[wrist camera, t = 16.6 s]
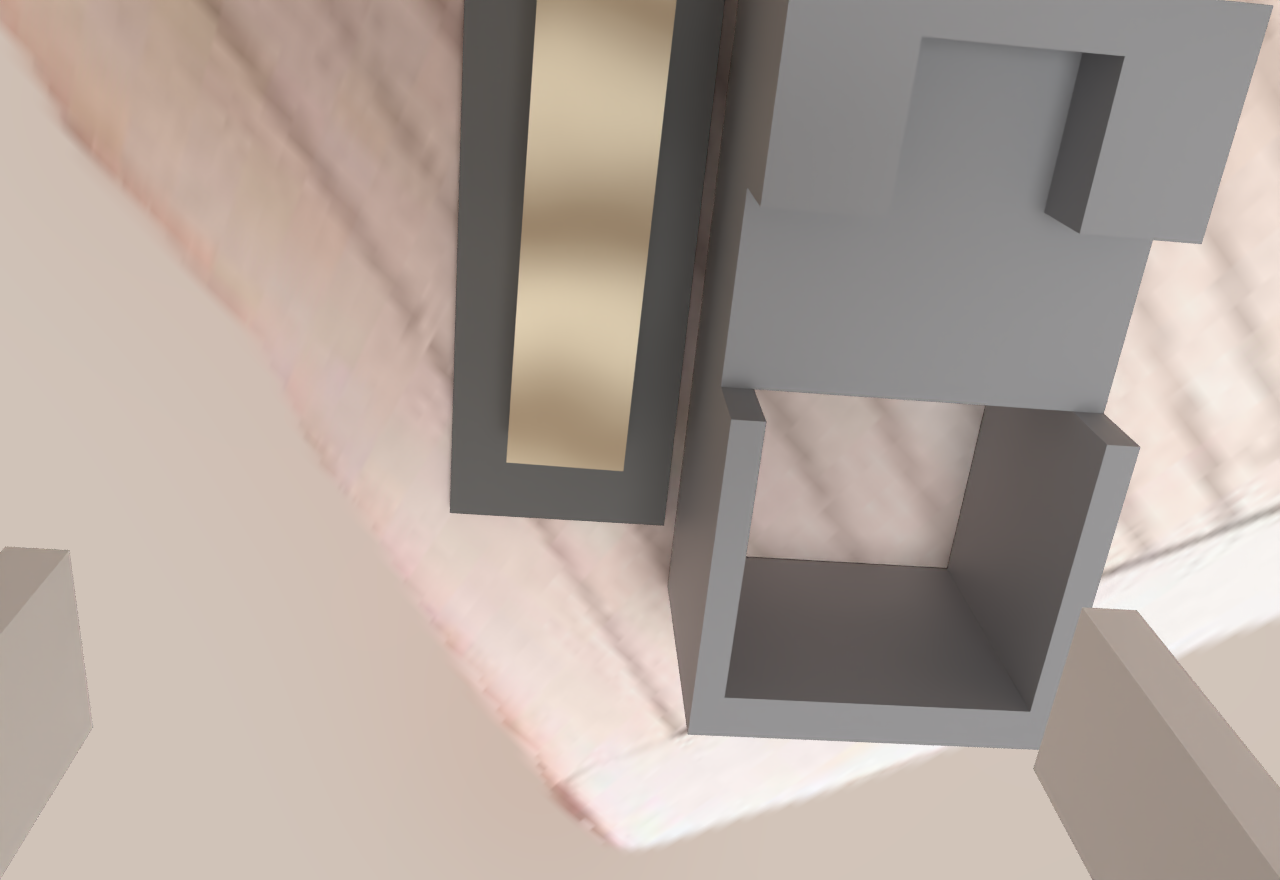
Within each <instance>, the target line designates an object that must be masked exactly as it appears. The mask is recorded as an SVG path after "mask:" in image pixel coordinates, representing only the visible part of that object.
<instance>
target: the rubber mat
mask: <svg viewBox="0 0 1280 880" xmlns="http://www.w3.org/2000/svg"><path fill="white" fill-rule="evenodd" d="M724 3H725V0H677V1H676V9H675V18H674V27H673V36H672V45H671V54H670V62H669V71H668V80H667V89H666V98H665V107H664V115H663V124H662V133H661V142H660V151H659V160H658V168H657V177H656V186H655V195H654V204H653V213H652V221H651V230H650V239H649V248H648V257H647V266H646V275H645V283H644V292H643V301H642V310H641V319H640V328H639V336H638V345H637V354H636V363H635V372H634V381H633V389H632V398H631V407H630V416H629V425H628V434H627V442H626V451H625V460H624V469H623V471H612V470H599V469H586V468H573V467H560V466H547V465H533V464H520V463H507V462H506V461H507V445H508V430H509V415H510V400H511V385H512V370H513V355H514V340H515V325H516V309H517V294H518V279H519V264H520V249H521V234H522V219H523V204H524V189H525V174H526V158H527V143H528V128H529V113H530V98H531V83H532V68H533V53H534V38H535V22H536V7H537V0H465V2H464V37H463V72H462V108H461V143H460V178H459V213H458V248H457V284H456V319H455V354H454V389H453V424H452V460H451V495H450V513H460V514H477V515H494V516H511V517H528V518H545V519H562V520H579V521H596V522H612V523H629V524H646V525H663V526H664V520H665V511H666V503H667V494H668V485H669V477H670V468H671V460H672V451H673V442H674V434H675V425H676V417H677V408H678V399H679V391H680V382H681V373H682V365H683V356H684V348H685V339H686V330H687V322H688V313H689V305H690V296H691V287H692V279H693V270H694V261H695V253H696V244H697V236H698V227H699V218H700V210H701V201H702V193H703V184H704V175H705V167H706V158H707V150H708V141H709V132H710V124H711V115H712V106H713V98H714V89H715V81H716V72H717V63H718V55H719V46H720V38H721V29H722V20H723V12H724Z"/></svg>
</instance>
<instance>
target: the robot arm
mask: <svg viewBox="0 0 1280 880" xmlns="http://www.w3.org/2000/svg"><path fill="white" fill-rule="evenodd" d="M92 728H93V724H92V717H91V709H90V702H89V694H88V688H87V680H86V672H85V664H84V656H83V649H82V641H81V634H80V626H79V619H78V611H77V604H76V596H75V589H74V582H73V574H72V566H71V559H70V551H69V550H56V549H38V548H20V547H5V548H4V549H3V550H2V551H1V552H0V879H1V877H2V876H3V874H4V872H5V870H6V869H7V867H8V866H9V864H10V862H11V861H12V859H13V857H14V856H15V854H16V853H17V851H18V849H19V848H20V846H21V844H22V843H23V841H24V839H25V838H26V836H27V835H28V833H29V831H30V829H31V828H32V826H33V825H34V823H35V821H36V820H37V818H38V816H39V815H40V813H41V812H42V810H43V808H44V807H45V805H46V803H47V802H48V800H49V798H50V797H51V795H52V794H53V792H54V790H55V789H56V787H57V785H58V784H59V782H60V780H61V779H62V777H63V776H64V774H65V772H66V771H67V769H68V767H69V766H70V764H71V762H72V760H73V759H74V757H75V756H76V754H77V753H78V751H79V749H80V748H81V746H82V744H83V743H84V741H85V739H86V738H87V736H88V735H89V733H90V731H91V730H92ZM1033 769H1034V771H1035V773H1036V775H1037V777H1038V779H1039V780H1040V782H1041V784H1042V786H1043V788H1044V790H1045V792H1046V793H1047V795H1048V797H1049V799H1050V801H1051V803H1052V805H1053V807H1054V809H1055V811H1056V812H1057V814H1058V816H1059V818H1060V820H1061V822H1062V824H1063V826H1064V827H1065V829H1066V831H1067V833H1068V835H1069V837H1070V839H1071V840H1072V842H1073V844H1074V846H1075V848H1076V850H1077V851H1078V854H1079V855H1080V857H1081V859H1082V861H1083V863H1084V865H1085V867H1086V869H1087V871H1088V872H1089V874H1090V876H1091V878H1092V880H1280V787H1279V786H1278V785H1277V784H1276V782H1275V781H1274V780H1273V779H1272V777H1271V776H1270V775H1269V774H1268V773H1267V771H1266V770H1265V769H1264V767H1263V766H1262V765H1261V764H1260V763H1259V761H1258V760H1257V759H1256V758H1255V756H1254V755H1253V754H1252V753H1251V751H1250V750H1249V749H1248V748H1247V746H1246V745H1245V744H1244V743H1243V741H1242V740H1241V739H1240V738H1239V737H1238V735H1237V734H1236V733H1235V731H1234V730H1233V729H1232V728H1231V727H1230V725H1229V724H1228V723H1227V722H1226V720H1225V719H1224V718H1223V717H1222V715H1221V714H1220V713H1219V712H1218V710H1217V709H1216V708H1215V707H1214V705H1213V704H1212V703H1211V702H1210V701H1209V699H1208V698H1207V697H1206V696H1205V694H1204V693H1203V692H1202V691H1201V689H1200V688H1199V687H1198V686H1197V684H1196V683H1195V682H1194V681H1193V680H1192V678H1191V677H1190V676H1189V675H1188V673H1187V672H1186V671H1185V670H1184V668H1183V667H1182V666H1181V665H1180V663H1179V662H1178V661H1177V660H1176V658H1175V657H1174V656H1173V655H1172V653H1171V652H1170V651H1169V650H1168V648H1167V647H1166V646H1165V645H1164V643H1163V642H1162V641H1161V640H1160V638H1159V637H1158V636H1157V635H1156V633H1155V632H1154V631H1153V630H1152V629H1151V627H1150V626H1149V625H1148V624H1147V622H1146V621H1145V620H1144V619H1143V617H1142V616H1141V615H1140V614H1139V612H1138V611H1137V610H1120V609H1102V608H1085V607H1082V610H1081V613H1080V616H1079V620H1078V623H1077V626H1076V629H1075V633H1074V636H1073V639H1072V643H1071V646H1070V649H1069V653H1068V656H1067V659H1066V663H1065V666H1064V669H1063V672H1062V676H1061V679H1060V682H1059V686H1058V689H1057V692H1056V696H1055V699H1054V702H1053V705H1052V709H1051V712H1050V715H1049V719H1048V722H1047V725H1046V729H1045V732H1044V735H1043V739H1042V742H1041V745H1040V748H1039V752H1038V755H1037V759H1036V762H1035V765H1034V768H1033Z"/></svg>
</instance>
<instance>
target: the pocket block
mask: <svg viewBox="0 0 1280 880" xmlns="http://www.w3.org/2000/svg"><path fill="white" fill-rule="evenodd" d="M1272 9H1273V5H1264V4H1254V3H1244V2H1235V1H1225V0H738V7H737V15H736V23H735V32H734V40H733V48H732V57H731V65H730V73H729V81H728V90H727V98H726V106H725V115H724V123H723V131H722V139H721V148H720V156H719V164H718V173H717V181H716V189H715V197H714V206H713V214H712V222H711V231H710V239H709V247H708V255H707V264H706V272H705V280H704V289H703V297H702V305H701V314H700V322H699V330H698V338H697V347H696V355H695V363H694V372H693V380H692V388H691V396H690V405H689V413H688V421H687V430H686V438H685V446H684V454H683V463H682V471H681V479H680V488H679V496H678V504H677V512H676V521H675V529H674V537H673V546H672V554H671V562H670V570H669V579H668V592H669V600H670V607H671V614H672V622H673V629H674V636H675V644H676V651H677V659H678V666H679V673H680V681H681V688H682V695H683V703H684V710H685V717H686V725H687V732H688V734H689V735H712V736H735V737H758V738H781V739H804V740H827V741H850V742H873V743H896V744H919V745H941V746H964V747H987V748H989V747H990V748H1011V749H1034V750H1039V748H1040V745H1041V742H1042V739H1043V735H1044V732H1045V729H1046V725H1047V722H1048V719H1049V715H1050V712H1051V709H1052V705H1053V702H1054V699H1055V696H1056V692H1057V689H1058V686H1059V682H1060V679H1061V676H1062V672H1063V669H1064V666H1065V663H1066V659H1067V656H1068V653H1069V649H1070V646H1071V643H1072V639H1073V636H1074V633H1075V629H1076V626H1077V623H1078V620H1079V616H1080V613H1081V610H1082V607H1085V608H1092V606H1093V602H1094V599H1095V596H1096V592H1097V589H1098V586H1099V583H1100V579H1101V576H1102V573H1103V569H1104V566H1105V563H1106V559H1107V556H1108V553H1109V549H1110V546H1111V543H1112V539H1113V536H1114V533H1115V529H1116V526H1117V523H1118V519H1119V516H1120V513H1121V510H1122V506H1123V503H1124V500H1125V496H1126V493H1127V490H1128V486H1129V483H1130V480H1131V476H1132V473H1133V470H1134V466H1135V463H1136V460H1137V456H1138V453H1139V450H1140V446H1139V445H1137V444H1136V443H1135V442H1134V441H1133V440H1132V439H1131V438H1130V437H1129V436H1128V435H1127V434H1125V433H1124V432H1123V431H1122V430H1121V429H1120V428H1119V427H1118V426H1117V425H1116V424H1114V423H1113V422H1112V421H1111V420H1110V419H1109V418H1108V417H1107V416H1106V415H1105V414H1104V410H1105V407H1106V403H1107V400H1108V396H1109V393H1110V389H1111V386H1112V382H1113V379H1114V375H1115V372H1116V368H1117V365H1118V361H1119V357H1120V354H1121V350H1122V347H1123V343H1124V340H1125V336H1126V333H1127V329H1128V326H1129V322H1130V319H1131V315H1132V312H1133V308H1134V305H1135V301H1136V297H1137V294H1138V290H1139V287H1140V283H1141V280H1142V276H1143V273H1144V269H1145V266H1146V262H1147V259H1148V255H1149V252H1150V248H1151V244H1152V241H1153V240H1159V241H1171V242H1183V243H1195V244H1202V241H1203V238H1204V234H1205V231H1206V228H1207V224H1208V221H1209V218H1210V214H1211V211H1212V208H1213V204H1214V201H1215V198H1216V194H1217V191H1218V188H1219V184H1220V181H1221V178H1222V174H1223V171H1224V168H1225V165H1226V161H1227V158H1228V155H1229V151H1230V148H1231V145H1232V141H1233V138H1234V135H1235V131H1236V128H1237V125H1238V121H1239V118H1240V115H1241V111H1242V108H1243V105H1244V101H1245V98H1246V95H1247V92H1248V88H1249V85H1250V82H1251V78H1252V75H1253V72H1254V68H1255V65H1256V62H1257V58H1258V55H1259V52H1260V48H1261V45H1262V42H1263V38H1264V35H1265V32H1266V29H1267V25H1268V22H1269V19H1270V15H1271V12H1272ZM754 389H759V390H773V391H787V392H802V393H816V394H830V395H845V396H859V397H873V398H888V399H902V400H916V401H931V402H945V403H959V404H974V405H986V406H985V411H984V415H983V419H982V423H981V427H980V432H979V436H978V440H977V444H976V449H975V453H974V457H973V461H972V466H971V470H970V474H969V478H968V483H967V487H966V491H965V495H964V499H963V504H962V508H961V512H960V516H959V521H958V525H957V529H956V533H955V538H954V542H953V546H952V550H951V554H950V559H949V563H948V567H947V569H945V568H927V567H910V566H892V565H875V564H858V563H840V562H823V561H805V560H788V559H770V558H753V557H746V552H747V546H748V539H749V533H750V526H751V519H752V513H753V506H754V500H755V493H756V486H757V480H758V473H759V467H760V460H761V453H762V447H763V440H764V434H765V427H766V420H765V417H764V415H763V412H762V409H761V407H760V404H759V402H758V399H757V396H756V394H755V391H754Z"/></svg>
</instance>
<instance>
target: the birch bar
mask: <svg viewBox="0 0 1280 880" xmlns="http://www.w3.org/2000/svg"><path fill="white" fill-rule="evenodd" d="M676 1H677V0H537V7H536V22H535V38H534V53H533V68H532V83H531V98H530V113H529V128H528V143H527V158H526V174H525V189H524V204H523V219H522V234H521V249H520V264H519V279H518V294H517V309H516V325H515V340H514V355H513V370H512V385H511V400H510V415H509V430H508V445H507V461H506V462H507V463H520V464H533V465H547V466H560V467H573V468H586V469H599V470H612V471H623V469H624V460H625V451H626V442H627V434H628V425H629V416H630V407H631V398H632V389H633V381H634V372H635V363H636V354H637V345H638V336H639V328H640V319H641V310H642V301H643V292H644V283H645V275H646V266H647V257H648V248H649V239H650V230H651V221H652V213H653V204H654V195H655V186H656V177H657V168H658V160H659V151H660V142H661V133H662V124H663V115H664V107H665V98H666V89H667V80H668V71H669V62H670V54H671V45H672V36H673V27H674V18H675V9H676Z"/></svg>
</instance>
